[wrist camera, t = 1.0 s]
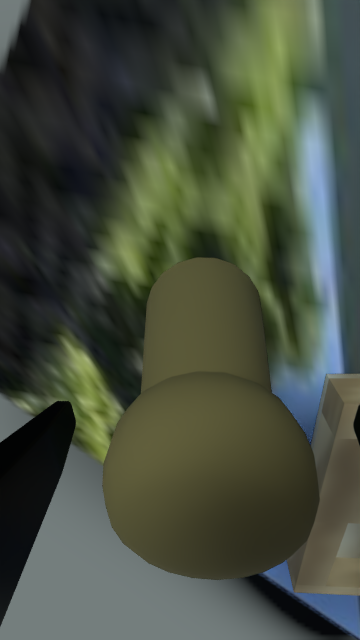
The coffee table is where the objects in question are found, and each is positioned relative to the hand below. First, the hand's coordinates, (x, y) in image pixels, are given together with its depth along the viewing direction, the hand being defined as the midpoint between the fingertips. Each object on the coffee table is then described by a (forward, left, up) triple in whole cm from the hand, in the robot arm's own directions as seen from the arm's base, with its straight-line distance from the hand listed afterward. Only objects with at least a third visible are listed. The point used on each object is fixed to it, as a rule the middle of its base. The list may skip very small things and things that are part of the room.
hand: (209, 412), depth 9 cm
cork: (0, 0, -7) cm, 7 cm away
